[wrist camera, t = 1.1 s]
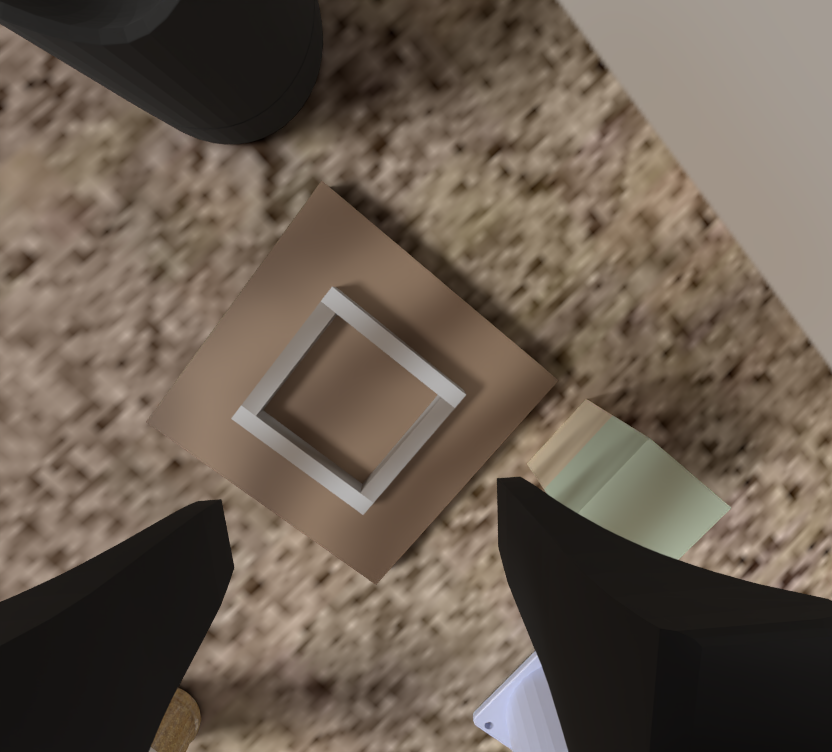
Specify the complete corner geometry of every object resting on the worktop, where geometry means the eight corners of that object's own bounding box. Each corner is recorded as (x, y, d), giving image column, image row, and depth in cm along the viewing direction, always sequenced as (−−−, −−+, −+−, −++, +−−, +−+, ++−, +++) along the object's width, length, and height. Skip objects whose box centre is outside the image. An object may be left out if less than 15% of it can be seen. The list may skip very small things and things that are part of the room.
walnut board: (550, 375, 22) (565, 384, 20) (377, 570, 24) (374, 598, 22) (327, 187, 20) (316, 174, 18) (160, 415, 22) (132, 428, 20)
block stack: (648, 451, 23) (731, 507, 17) (588, 513, 23) (649, 588, 17) (585, 398, 22) (649, 438, 16) (526, 463, 23) (567, 524, 17)
